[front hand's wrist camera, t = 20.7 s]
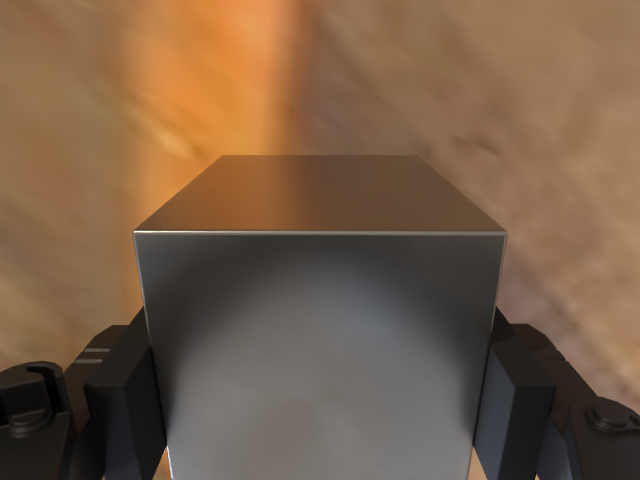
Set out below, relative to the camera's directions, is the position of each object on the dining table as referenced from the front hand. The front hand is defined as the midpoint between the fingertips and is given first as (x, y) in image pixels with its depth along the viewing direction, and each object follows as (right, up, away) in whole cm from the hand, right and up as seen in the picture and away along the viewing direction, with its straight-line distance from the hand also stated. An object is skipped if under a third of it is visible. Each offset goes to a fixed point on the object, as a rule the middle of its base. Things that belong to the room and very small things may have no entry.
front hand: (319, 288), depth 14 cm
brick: (0, +1, +3) cm, 3 cm away
